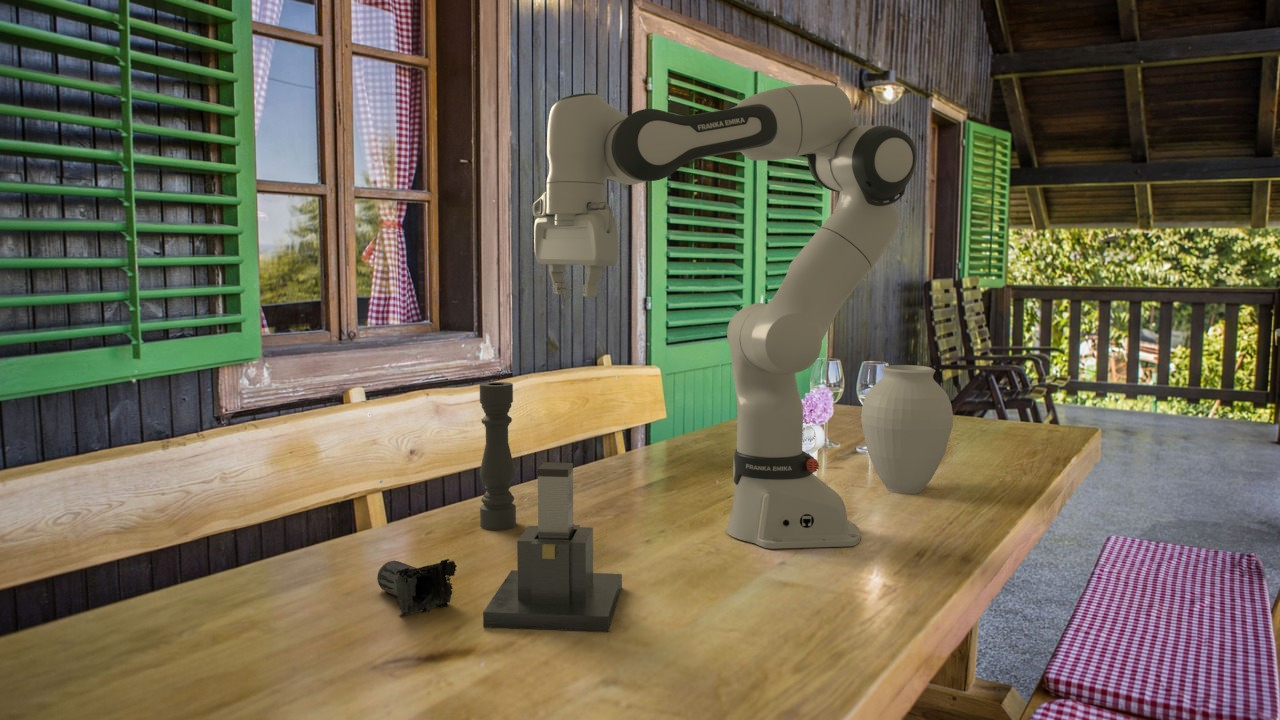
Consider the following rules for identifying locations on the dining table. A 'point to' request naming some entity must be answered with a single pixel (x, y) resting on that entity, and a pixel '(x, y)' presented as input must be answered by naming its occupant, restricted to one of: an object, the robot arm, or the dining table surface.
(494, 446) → the candle holder
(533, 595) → the stand
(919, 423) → the vase
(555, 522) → the column
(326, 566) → the dining table surface
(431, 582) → the dark flanged cylinder
